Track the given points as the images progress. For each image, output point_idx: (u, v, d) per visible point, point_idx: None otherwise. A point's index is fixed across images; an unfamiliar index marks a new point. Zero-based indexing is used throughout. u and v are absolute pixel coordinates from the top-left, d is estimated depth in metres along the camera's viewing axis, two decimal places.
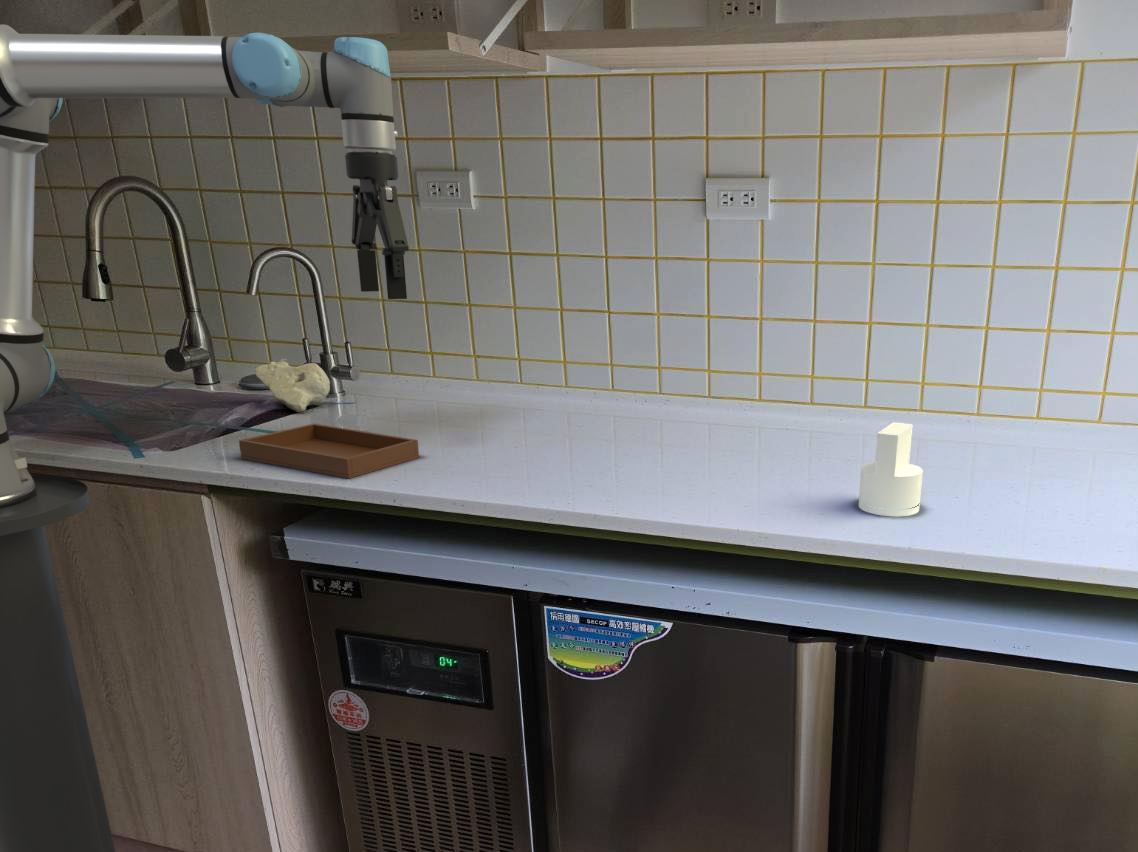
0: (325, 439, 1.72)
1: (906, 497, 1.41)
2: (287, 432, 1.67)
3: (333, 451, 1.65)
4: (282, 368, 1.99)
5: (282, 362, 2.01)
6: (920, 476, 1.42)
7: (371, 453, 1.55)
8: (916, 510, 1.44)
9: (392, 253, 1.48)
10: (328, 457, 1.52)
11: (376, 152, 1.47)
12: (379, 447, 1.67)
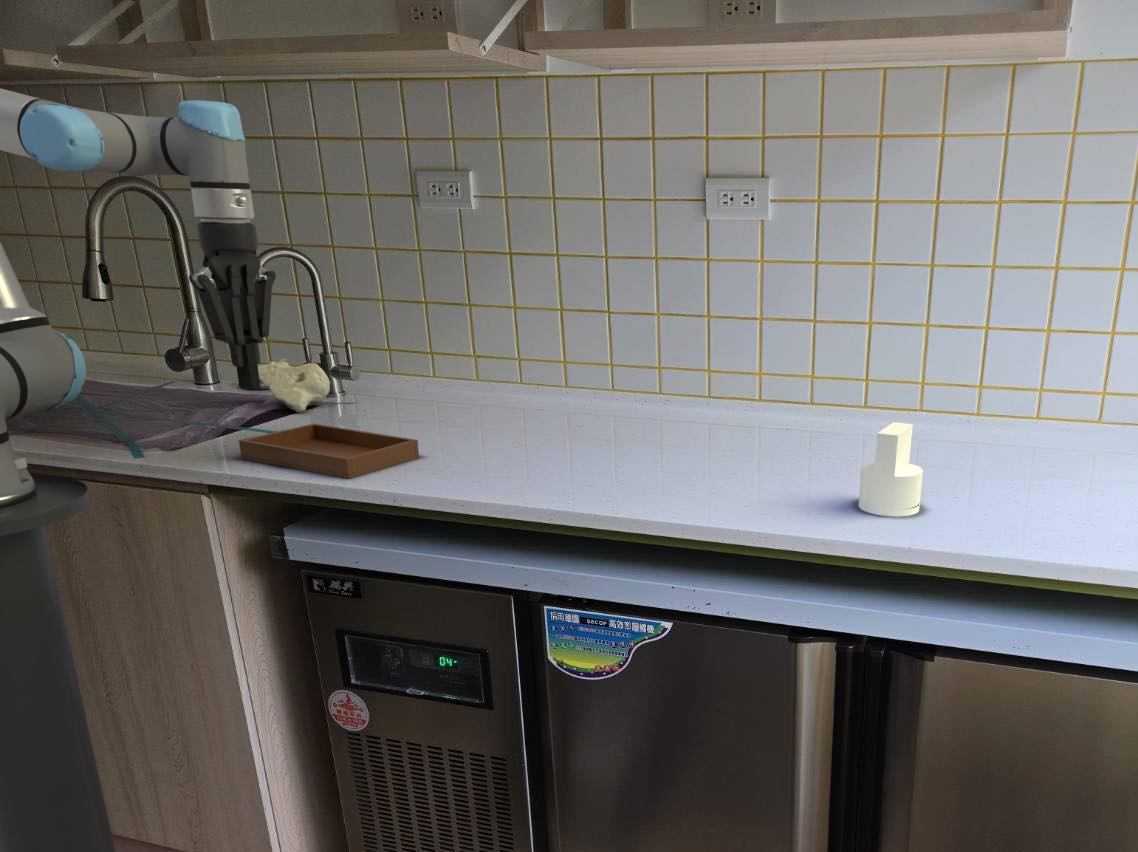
0: (325, 439, 1.72)
1: (906, 497, 1.41)
2: (287, 432, 1.67)
3: (333, 451, 1.65)
4: (282, 368, 1.99)
5: (282, 362, 2.01)
6: (920, 476, 1.42)
7: (371, 453, 1.55)
8: (916, 510, 1.44)
9: None
10: (328, 457, 1.52)
11: (205, 222, 1.36)
12: (379, 447, 1.67)
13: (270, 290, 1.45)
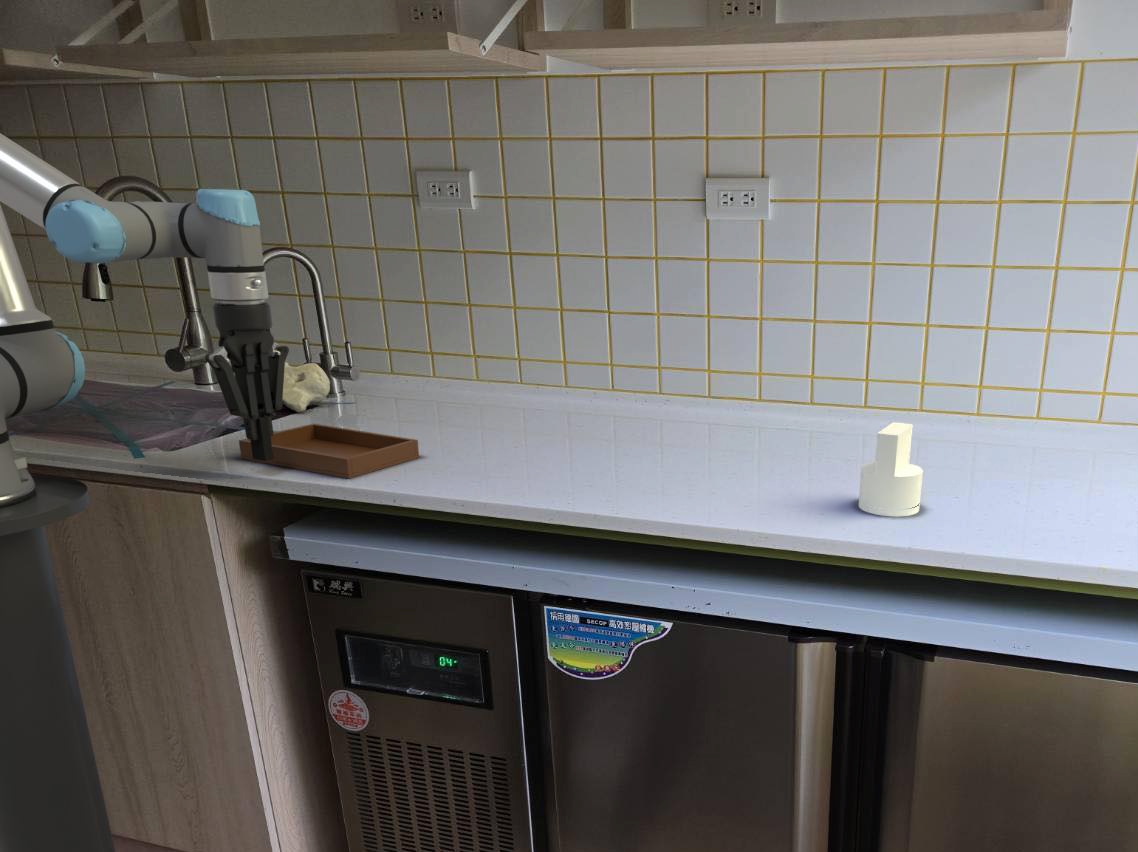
0: (325, 439, 1.72)
1: (906, 497, 1.41)
2: (287, 432, 1.67)
3: (333, 451, 1.65)
4: None
5: None
6: (920, 476, 1.42)
7: (371, 453, 1.55)
8: (916, 510, 1.44)
9: (242, 416, 1.47)
10: (328, 457, 1.52)
11: (221, 304, 1.40)
12: (379, 447, 1.67)
13: (283, 365, 1.50)
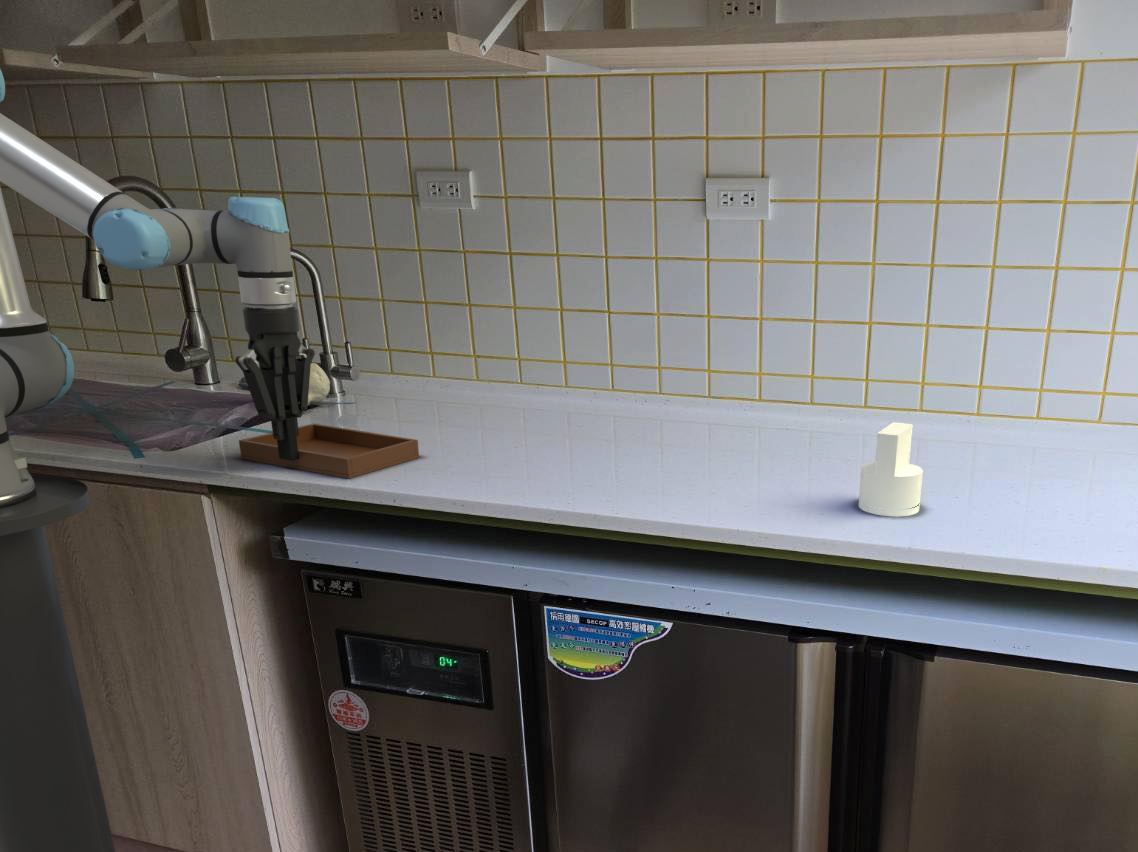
0: (325, 439, 1.72)
1: (906, 497, 1.41)
2: None
3: (333, 451, 1.65)
4: None
5: None
6: (920, 476, 1.42)
7: (371, 453, 1.55)
8: (916, 510, 1.44)
9: (270, 417, 1.51)
10: (328, 457, 1.52)
11: (251, 308, 1.44)
12: (379, 447, 1.67)
13: (309, 367, 1.54)
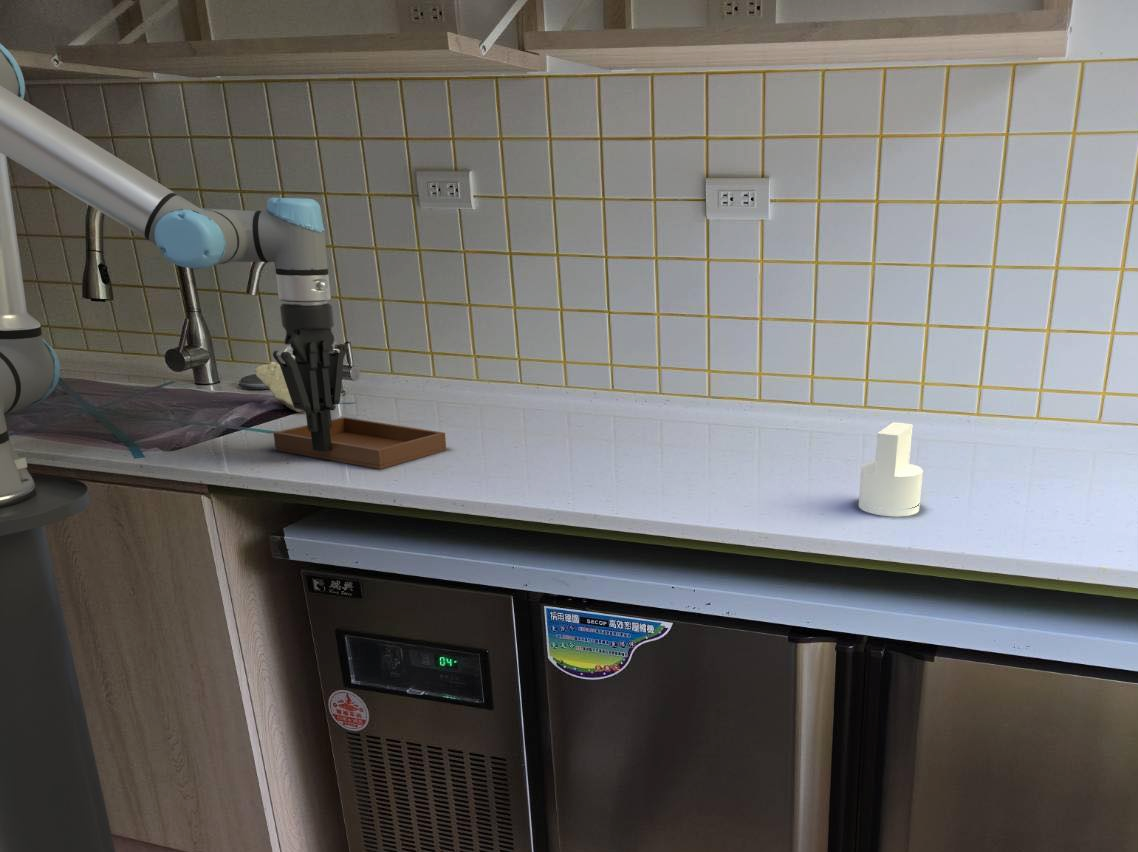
0: (355, 432, 1.78)
1: (906, 497, 1.41)
2: None
3: (363, 443, 1.70)
4: None
5: None
6: (920, 476, 1.42)
7: (401, 445, 1.61)
8: (916, 510, 1.44)
9: (305, 410, 1.57)
10: (360, 449, 1.58)
11: (288, 304, 1.50)
12: (407, 440, 1.73)
13: (342, 362, 1.60)
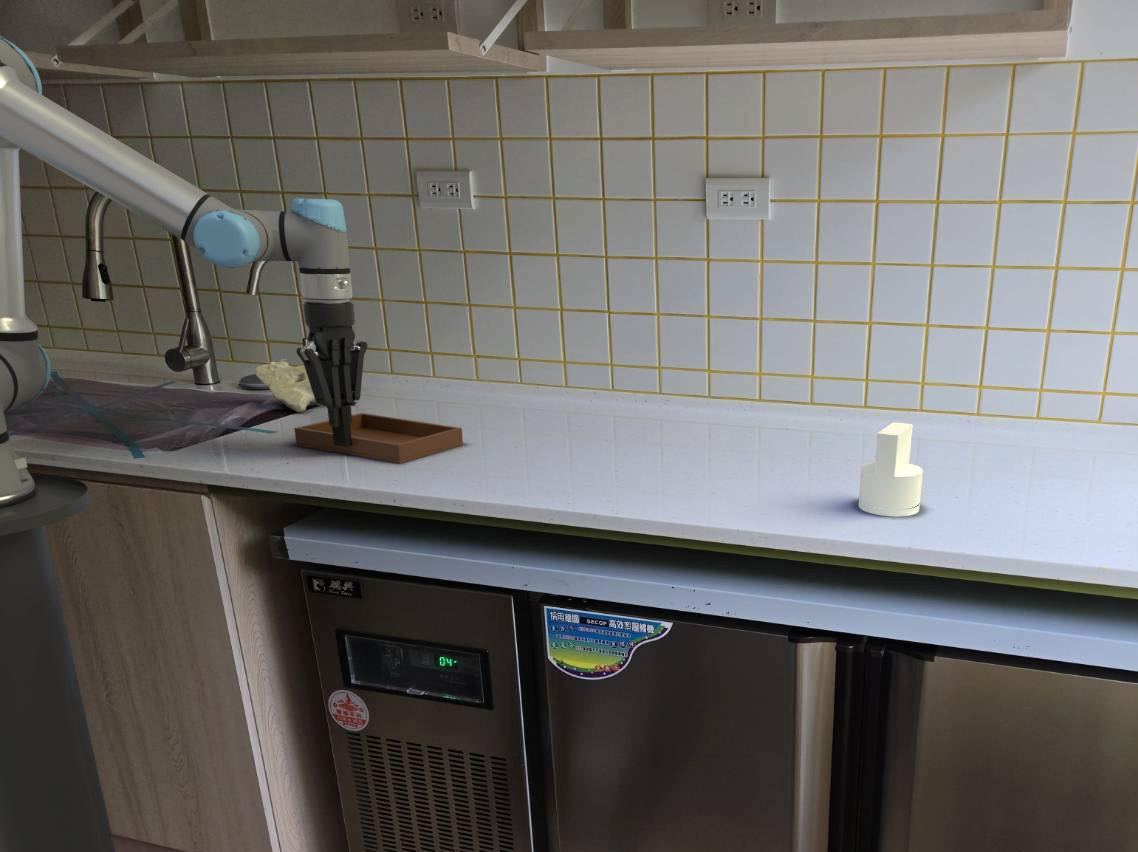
0: (373, 428, 1.81)
1: (906, 497, 1.41)
2: None
3: (382, 438, 1.74)
4: (282, 368, 1.99)
5: (282, 362, 2.01)
6: (920, 476, 1.42)
7: (420, 440, 1.64)
8: (916, 510, 1.44)
9: (326, 405, 1.61)
10: (380, 444, 1.62)
11: (311, 302, 1.54)
12: (425, 435, 1.77)
13: (362, 359, 1.64)
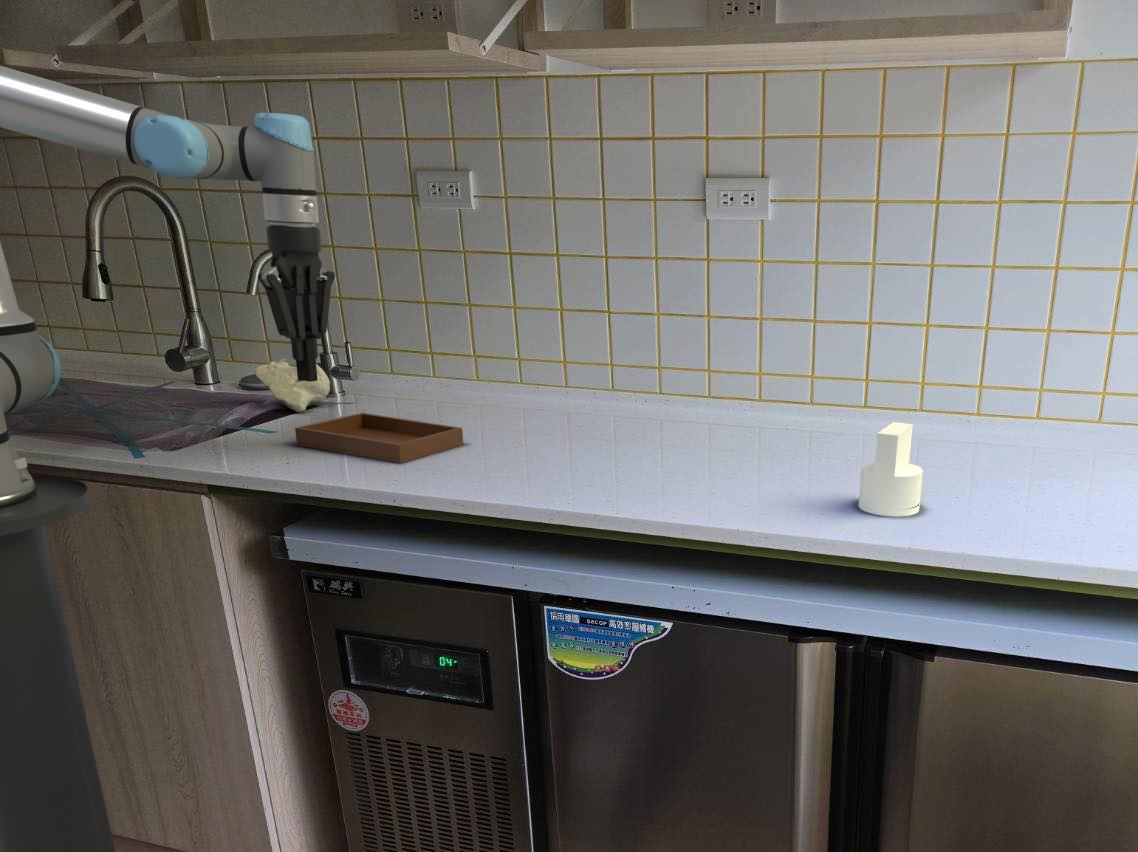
0: (373, 427, 1.82)
1: (906, 497, 1.41)
2: (338, 420, 1.77)
3: (382, 438, 1.74)
4: (282, 368, 1.99)
5: (282, 362, 2.01)
6: (920, 476, 1.42)
7: (420, 440, 1.65)
8: (916, 510, 1.44)
9: (290, 337, 1.53)
10: (381, 443, 1.62)
11: (275, 225, 1.46)
12: (425, 435, 1.77)
13: (329, 289, 1.56)
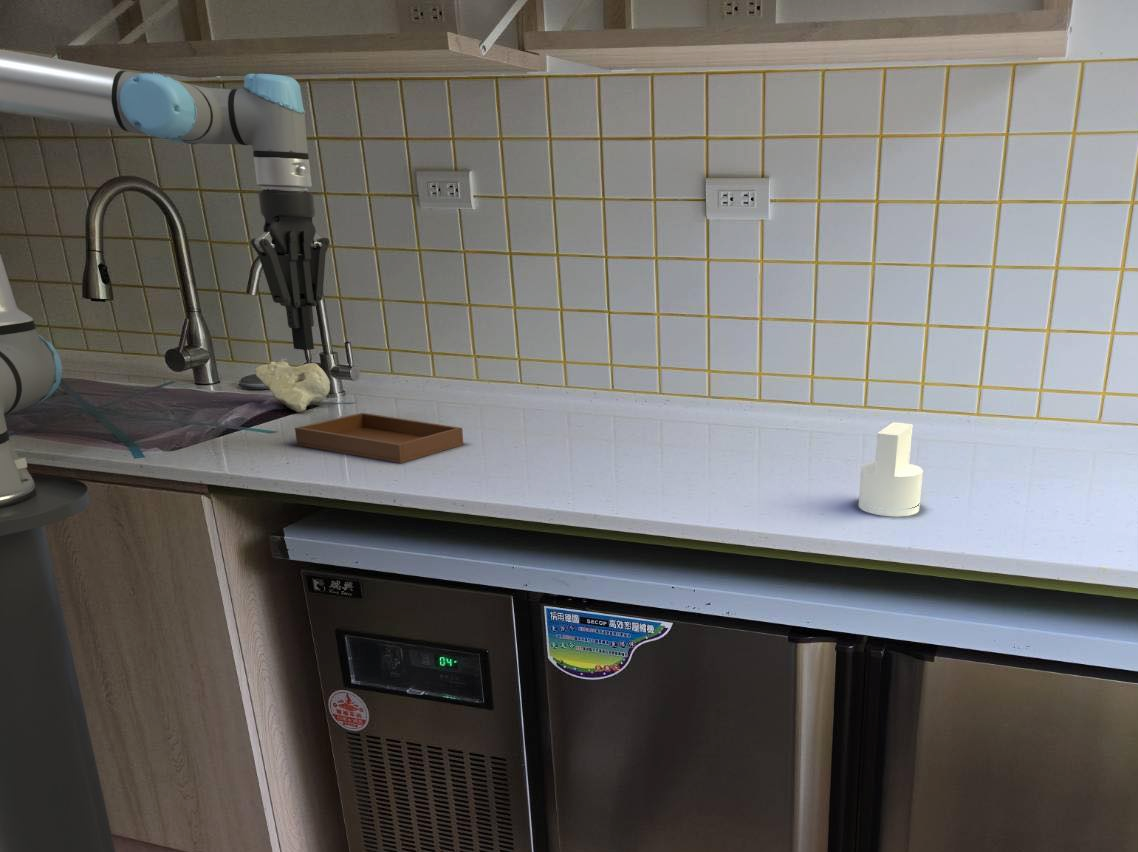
0: (373, 427, 1.82)
1: (906, 497, 1.41)
2: (338, 420, 1.77)
3: (382, 438, 1.74)
4: (282, 368, 1.99)
5: (282, 362, 2.01)
6: (920, 476, 1.42)
7: (420, 440, 1.65)
8: (916, 510, 1.44)
9: (285, 305, 1.50)
10: (381, 443, 1.62)
11: (267, 189, 1.44)
12: (425, 435, 1.77)
13: (324, 256, 1.53)
